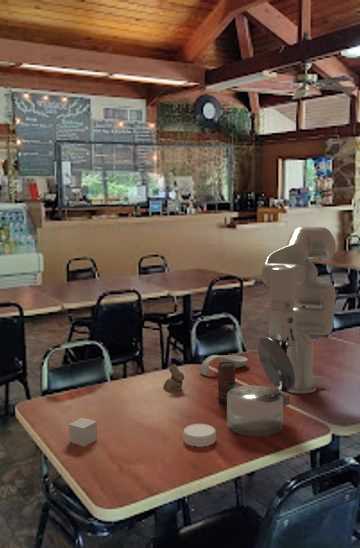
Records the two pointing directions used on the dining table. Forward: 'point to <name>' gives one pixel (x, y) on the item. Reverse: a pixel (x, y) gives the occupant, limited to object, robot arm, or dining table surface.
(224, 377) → the can
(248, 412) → the round storage jar
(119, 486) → the dining table surface
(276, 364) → the lid
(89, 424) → the light grey cube
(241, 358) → the spoon rest
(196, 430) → the white short cylinder
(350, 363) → the dining table surface
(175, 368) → the chocolate bunny
